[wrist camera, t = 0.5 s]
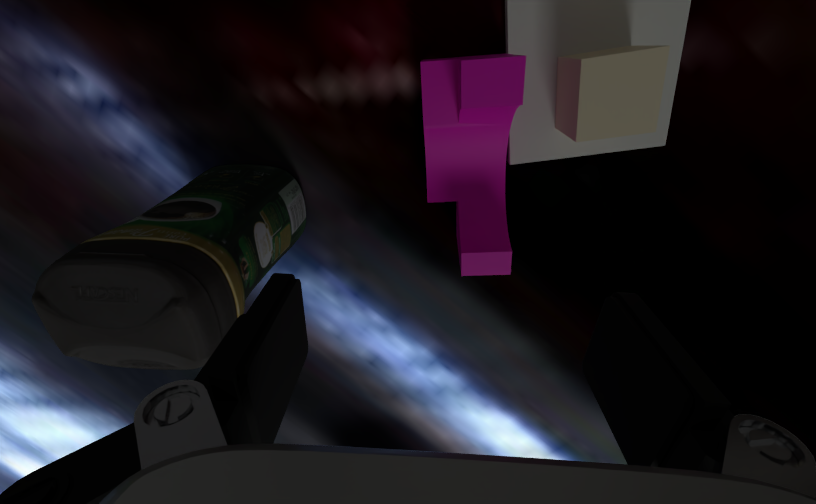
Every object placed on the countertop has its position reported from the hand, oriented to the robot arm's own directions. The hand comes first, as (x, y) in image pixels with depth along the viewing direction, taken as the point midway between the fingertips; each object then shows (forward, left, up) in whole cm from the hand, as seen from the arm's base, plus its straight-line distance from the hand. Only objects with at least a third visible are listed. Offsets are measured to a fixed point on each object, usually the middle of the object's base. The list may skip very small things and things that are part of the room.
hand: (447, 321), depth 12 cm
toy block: (-2, +1, -23) cm, 23 cm away
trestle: (-12, -8, -23) cm, 27 cm away
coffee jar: (+17, +3, -23) cm, 29 cm away
